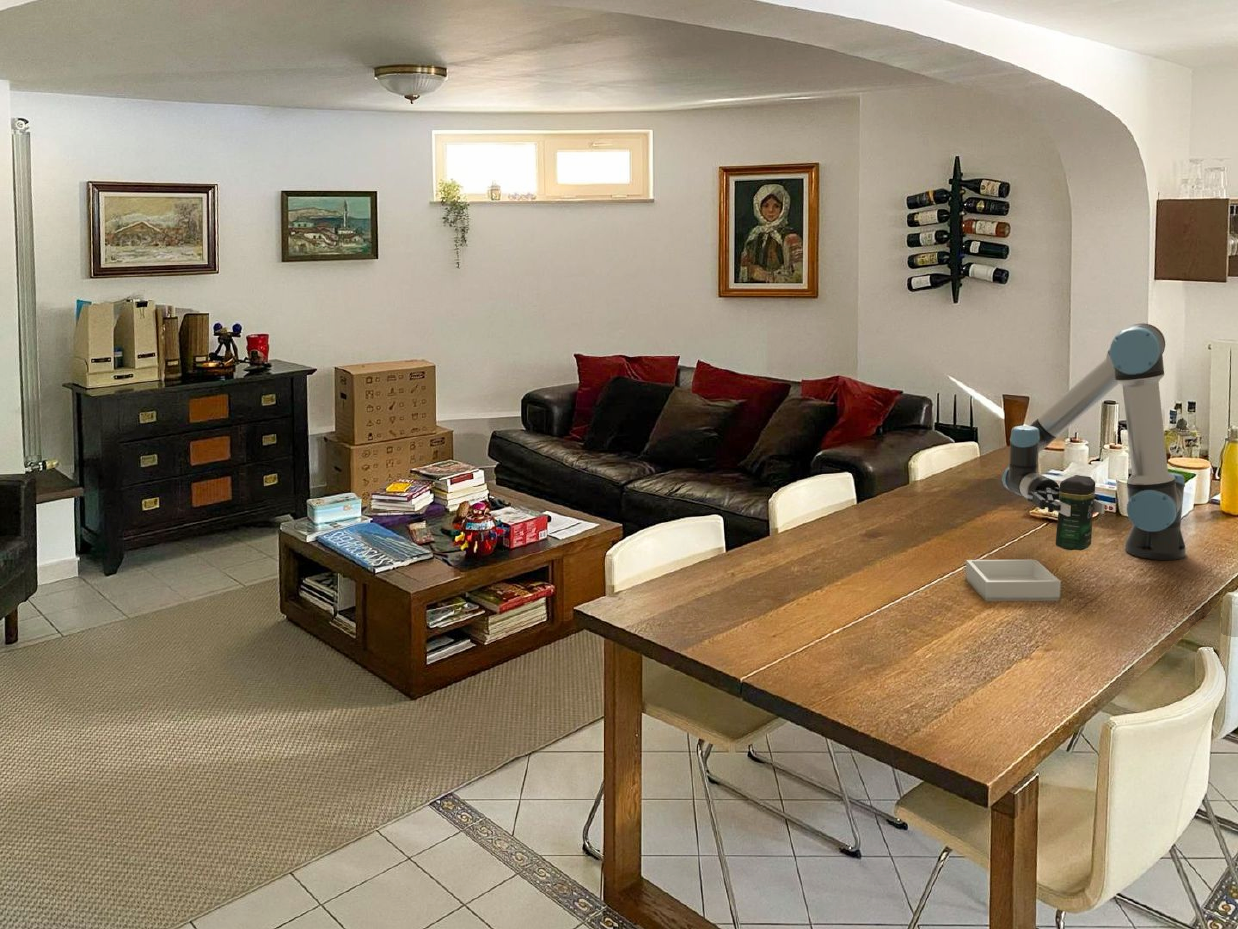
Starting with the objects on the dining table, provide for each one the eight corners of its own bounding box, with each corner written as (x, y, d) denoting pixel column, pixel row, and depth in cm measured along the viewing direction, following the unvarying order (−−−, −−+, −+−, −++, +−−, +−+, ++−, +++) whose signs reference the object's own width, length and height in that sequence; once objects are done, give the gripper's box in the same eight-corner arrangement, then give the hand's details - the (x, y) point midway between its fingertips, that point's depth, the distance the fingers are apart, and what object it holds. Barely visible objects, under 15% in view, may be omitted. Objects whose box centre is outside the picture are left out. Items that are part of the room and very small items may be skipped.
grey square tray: (1034, 577, 281) (1035, 559, 280) (1059, 600, 263) (1060, 581, 262) (965, 578, 282) (966, 560, 281) (985, 601, 264) (986, 582, 263)
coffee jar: (1083, 553, 271) (1088, 482, 267) (1051, 548, 276) (1055, 478, 272) (1095, 544, 279) (1100, 475, 275) (1064, 539, 284) (1068, 471, 280)
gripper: (1075, 500, 295) (1124, 521, 273) (1002, 505, 292) (1045, 526, 270) (1077, 474, 293) (1126, 493, 271) (1004, 478, 291) (1047, 498, 269)
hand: (1086, 509), depth 271 cm, fingers closed on coffee jar, 8 cm apart
